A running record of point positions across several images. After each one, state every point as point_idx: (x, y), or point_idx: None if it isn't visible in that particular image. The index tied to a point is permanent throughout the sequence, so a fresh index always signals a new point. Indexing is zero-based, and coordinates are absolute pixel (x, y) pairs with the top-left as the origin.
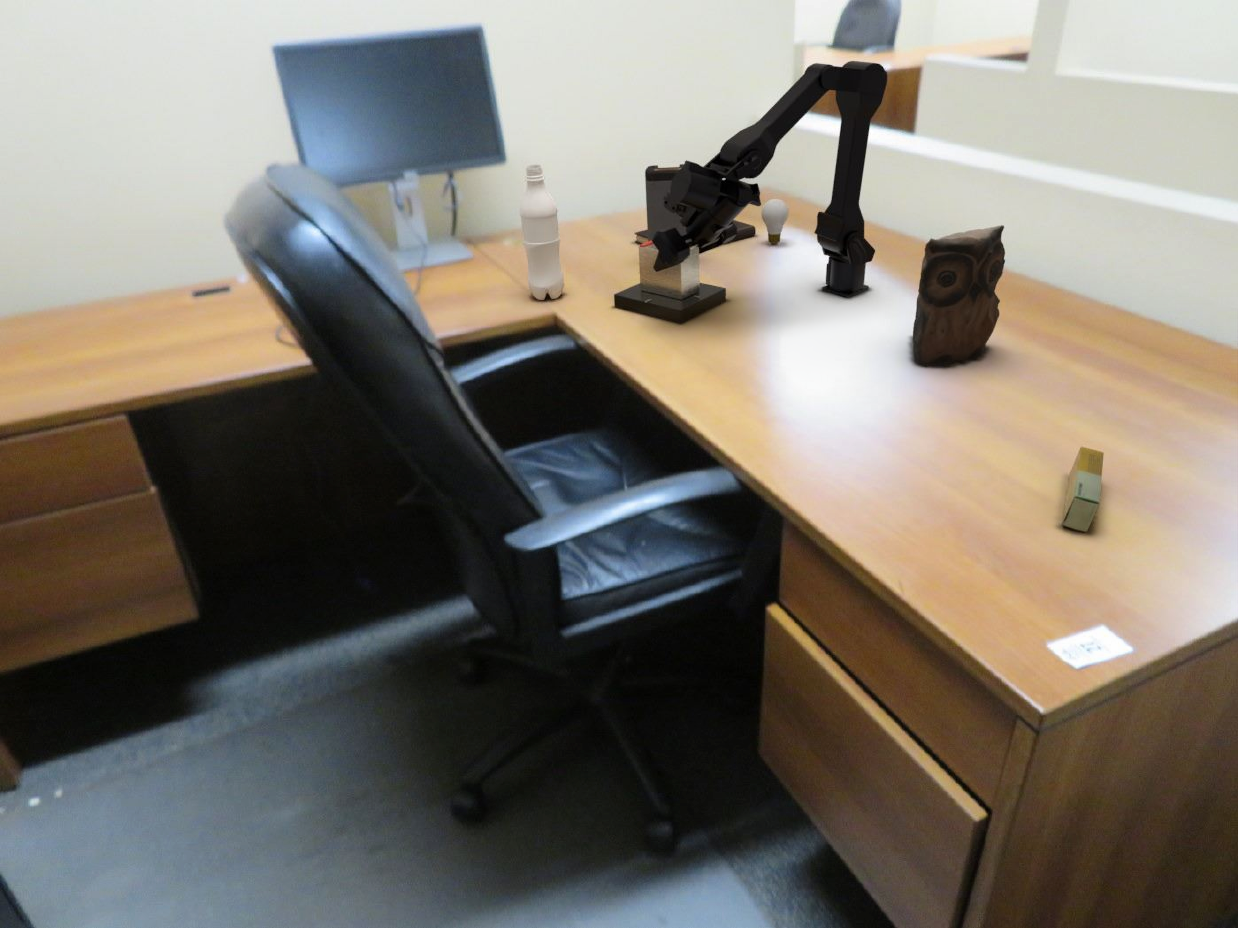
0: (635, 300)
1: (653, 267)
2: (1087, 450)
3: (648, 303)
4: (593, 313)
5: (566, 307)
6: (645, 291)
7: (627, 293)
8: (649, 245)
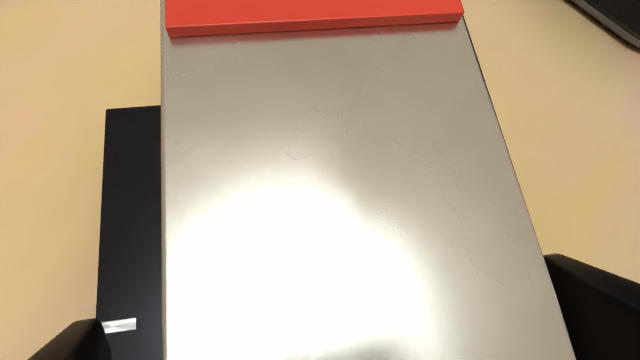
0: (101, 248)
1: (72, 327)
2: None
3: None
4: (18, 123)
5: (24, 3)
6: None
7: (153, 149)
8: (250, 46)
